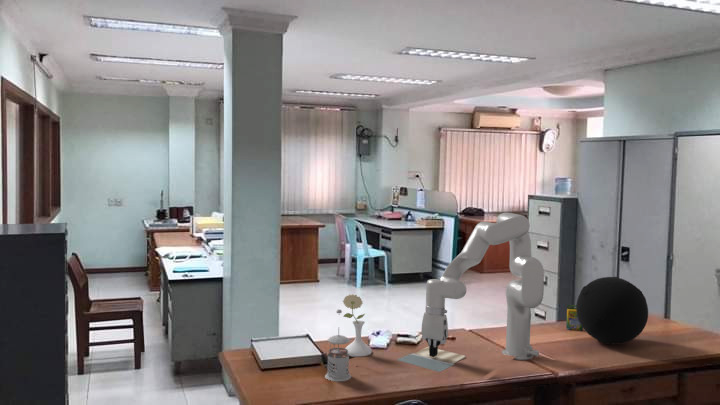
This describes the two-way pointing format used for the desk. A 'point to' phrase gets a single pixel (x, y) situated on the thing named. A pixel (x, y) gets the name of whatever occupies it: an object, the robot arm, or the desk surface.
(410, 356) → the grey rectangular panel
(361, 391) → the desk surface
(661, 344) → the desk surface
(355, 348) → the flower in vase
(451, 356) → the plank
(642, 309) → the sphere
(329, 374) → the french press
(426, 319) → the robot arm
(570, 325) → the crayon box
